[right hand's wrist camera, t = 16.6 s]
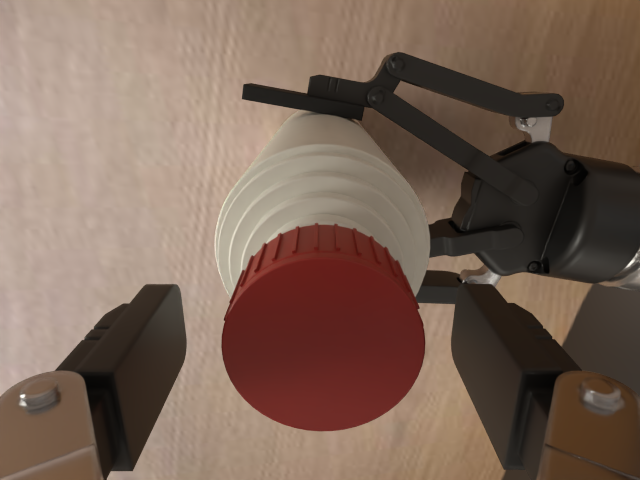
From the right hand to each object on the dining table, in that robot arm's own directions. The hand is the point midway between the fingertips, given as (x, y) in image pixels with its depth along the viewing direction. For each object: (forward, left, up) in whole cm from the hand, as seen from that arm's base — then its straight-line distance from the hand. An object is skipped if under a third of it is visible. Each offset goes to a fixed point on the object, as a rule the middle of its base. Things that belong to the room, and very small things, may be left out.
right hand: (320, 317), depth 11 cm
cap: (0, 0, +1) cm, 1 cm away
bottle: (0, 0, -23) cm, 23 cm away
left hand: (-3, -4, -16) cm, 17 cm away
